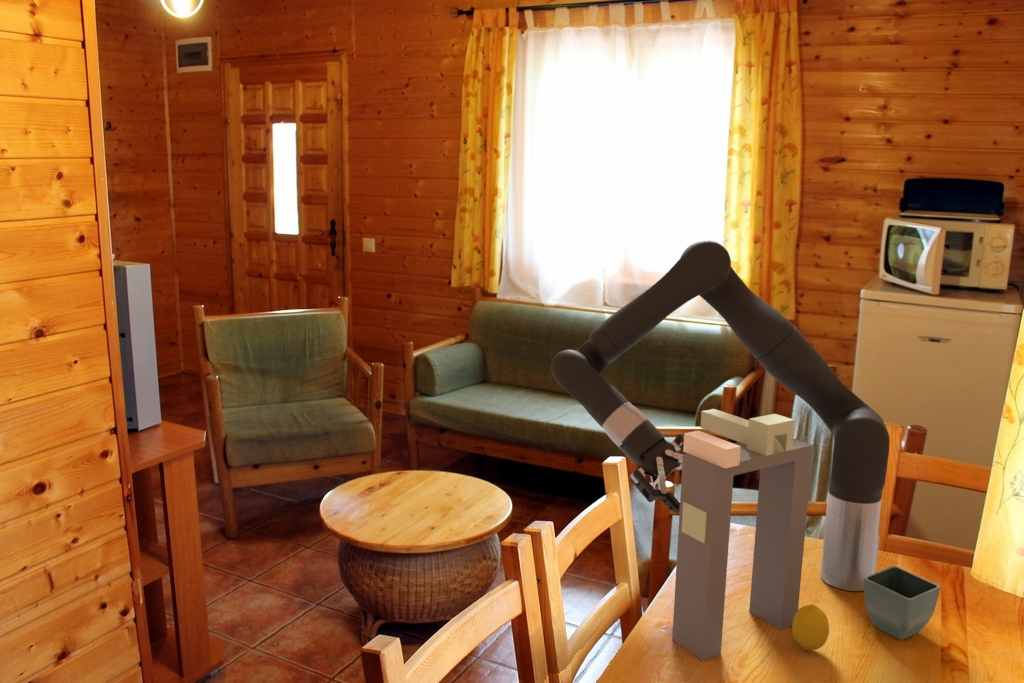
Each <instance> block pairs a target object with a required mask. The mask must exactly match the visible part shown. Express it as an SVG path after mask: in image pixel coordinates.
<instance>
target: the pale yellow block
mask: <svg viewBox="0 0 1024 683" xmlns="http://www.w3.org/2000/svg"><path fill="white" fill-rule="evenodd" d="M700 412H701V416H700V428H701V429H702V430H706V431H708V432H711V433H714V434H716V435H718V436H722V437H724V438H728V439H730V440H733V441H736V442H737V443H738V442H741V443H743V444H746V445H747V449H749V450H752V451H755V452H757V453H760V454H763V455H765V456H768V455H772V454H776V453H781V452H785V451H789V450H792V446H793V438H794V434H795V432H794V431H795V423H796V422H795V420H796V419H793V418H792V417H791V418H790V417H787V416H784V415H780V414H778V413H771V414H767V415H761V416H760V415H759V416H756V417H751V418H749V419H745V418H743V417H740V416H736V415H734V414H731V413H727V412H725V411H722V410H720V409H719V410H718V409H715V408H711V409H707V410H702V411H700Z"/></svg>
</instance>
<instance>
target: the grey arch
mask: <svg viewBox="0 0 1024 683" xmlns="http://www.w3.org/2000/svg"><path fill="white" fill-rule="evenodd" d="M733 444H736V445H739V446H741V449H740V463H739V465H738V466H734V467H730V468H722V467H720V466H718V465H715V464H713V463H710V462H708V461H705V460H703V459H700V458H698V457H696V456H693V455H691V454H688V453H686V454H682V455H683V461H682V469H681V481H680V482H681V483H680V499H679V500H680V501H679V502H680V512H679V513H678V514H679V515H678V516H679V517H678V529H677V530H678V534H677V551H676V567H675V568H676V569H675V587H674V602H673V617H672V618H673V620H672V621H673V622H672V633H671V635H672V637H671V638H672V639H671V641H673V642H675V643H676V644H678V645H679V646H680V647H682V648H683V649H685V650H686V651H687V652H689V653H690V654H692V655H693V656H695V657H696V658H698V659H699V660H701V661H702V662H704V661H707V660H708V659H711V658H714V657H716V656H719V655H722V654H721V653H722V646H723V645H722V644H723V642H722V641H723V629H724V615H725V600H726V599H725V598H726V588H727V587H726V586H727V571H728V557H729V546H730V545H729V543H730V529H731V517H732V516H731V514H732V503H733V502H732V500H733V488H734V476H738V475H741V474H746V473H750V472H755V471H759V470H760V471H759V481H758V496H757V504H756V505H757V507H756V518H755V532H754V543H753V544H754V546H753V559H752V572H751V573H752V574H751V582H750V583H751V585H750V597H749V598H750V599H749V607H748V608H749V609H748V611H749V613H751V614H752V615H754V616H756V617H758V618H759V619H761V620H762V621H765V622H766V623H768V624H769V625H771V626H772V627H775V628H776V629H778V630H780V631H782V630H784V629H787V628H790V627H792V625H793V619H794V616H795V614H796V612H797V611H798V610H799V602H800V592H801V591H800V590H801V582H802V571H803V557H804V550H805V549H804V548H805V537H806V526H807V515H808V505H809V504H808V502H809V493H810V481H811V470H812V469H811V468H812V461H813V460H812V458H813V448H814V445H813V444H811V443H808V442H805V441H803V440H800V439H797V438H794V437H793V446H792V450H789V451H785V452H781V453H776V454H772V455H768V456H765V455H763V454H760V453H757V452H755V451H752V450H749V449H747V445H746V444H743V443H741V442H738V441H737V442H733Z"/></svg>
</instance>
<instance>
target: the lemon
mask: <svg viewBox="0 0 1024 683" xmlns="http://www.w3.org/2000/svg"><path fill="white" fill-rule="evenodd" d="M791 628H792V629H791V630H792V635H793V637H794V640H795V641H796V643H797V644H798V645H799V646H801V648H803V649H805V650H806V651H808V652H811V651H812V650H813V651H815V650H818V649H821V648H822V647H823V646H824V645H825V644H826V643H827V640H828V638H829V634H830V624H829V620H828V617H827V615H826V613H825V612H824V611H823V609H821V608H820V607H818V606H816V605H815V604H808V605H807V604H806V605H803V606H801V607H799V608H798V611H797V612H796V614H795V616H794V619H793V625H792V626H791Z"/></svg>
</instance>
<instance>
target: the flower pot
mask: <svg viewBox="0 0 1024 683" xmlns="http://www.w3.org/2000/svg"><path fill="white" fill-rule="evenodd" d="M941 588H942V586H941V585H939V584H937V583H935V582H932V581H930V580H928V579H926V578H923V577H921V576H919V575H916V574H914V573H912V572H909V571H908V570H906V569H903V568H901V567H899V566H896V565H892V566H890V567H887V568H884V569H882V570H880V571H878V572H877V571H876V573H874V574H872V575H869V576H866V577H865V578H864V590H863V592H864V604H865V609H866V612H867V615H868V617H869V619H870V621H871V622H872V624H873V626H874V627H875V628H877V629H878V630H880V631H882V632H884V633H886V634H889V635H890V636H892V637H894V638H895V639H898V640H900V641H904V640H905V639H907V638H910V637H911V636H914V635H916V634H918V633H919V632H921V630H923V628H925V626H926V625H927V624H928V623H929V622H930V620H931V619H932V616H933V615H934V614H935V613H934V612H935V609H936V606H937V602H938V600H939V595H940V592H941Z"/></svg>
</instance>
